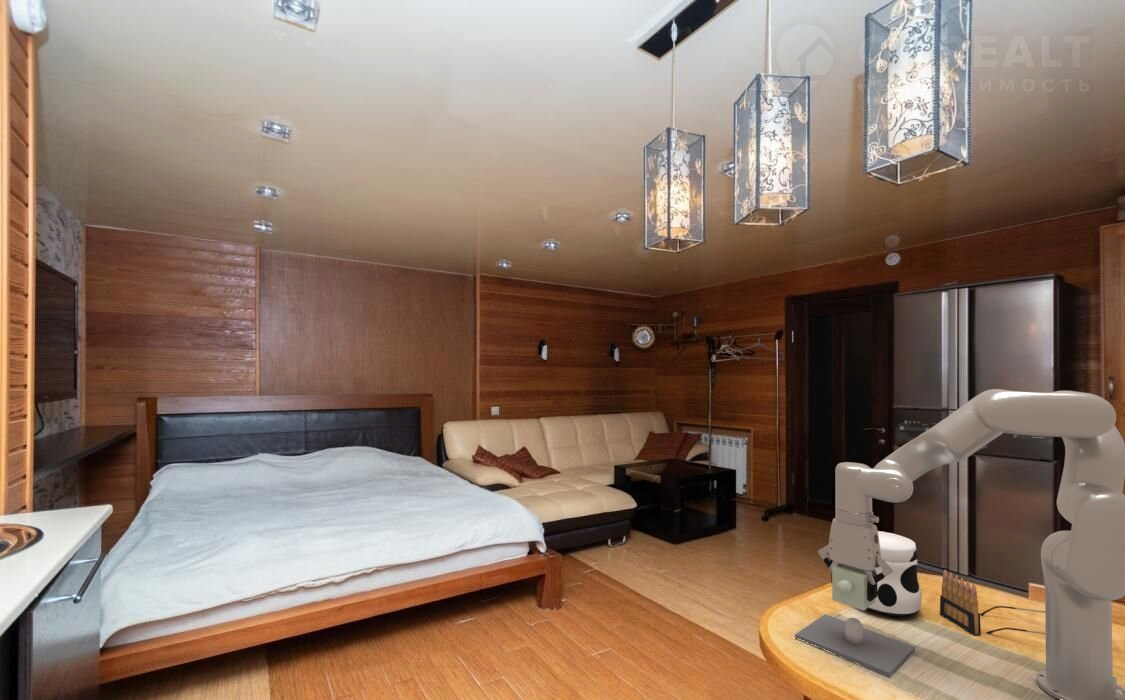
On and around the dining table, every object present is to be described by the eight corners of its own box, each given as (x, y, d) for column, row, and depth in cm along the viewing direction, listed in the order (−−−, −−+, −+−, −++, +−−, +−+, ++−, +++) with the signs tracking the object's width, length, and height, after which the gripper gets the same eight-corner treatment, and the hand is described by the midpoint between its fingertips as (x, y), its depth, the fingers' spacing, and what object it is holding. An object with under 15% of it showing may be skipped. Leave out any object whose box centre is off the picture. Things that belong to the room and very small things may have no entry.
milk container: (832, 597, 147) (831, 532, 147) (876, 588, 153) (876, 526, 154) (890, 626, 131) (889, 553, 131) (937, 615, 137) (936, 545, 137)
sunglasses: (1077, 657, 118) (1075, 634, 119) (987, 641, 127) (985, 620, 127) (1060, 630, 130) (1058, 610, 130) (978, 618, 139) (976, 598, 139)
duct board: (915, 651, 120) (915, 624, 120) (889, 677, 109) (889, 648, 110) (825, 617, 135) (825, 594, 135) (795, 638, 125) (795, 612, 125)
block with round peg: (844, 591, 127) (844, 561, 127) (875, 601, 122) (875, 569, 122) (826, 603, 121) (826, 571, 121) (857, 614, 116) (857, 581, 116)
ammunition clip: (981, 635, 127) (980, 585, 127) (973, 635, 127) (973, 585, 127) (946, 614, 138) (945, 568, 138) (939, 614, 138) (939, 568, 138)
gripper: (901, 522, 119) (901, 602, 118) (822, 506, 132) (822, 578, 132) (889, 529, 114) (889, 612, 113) (808, 511, 127) (808, 585, 127)
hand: (853, 593), depth 122 cm, fingers closed on block with round peg, 6 cm apart
